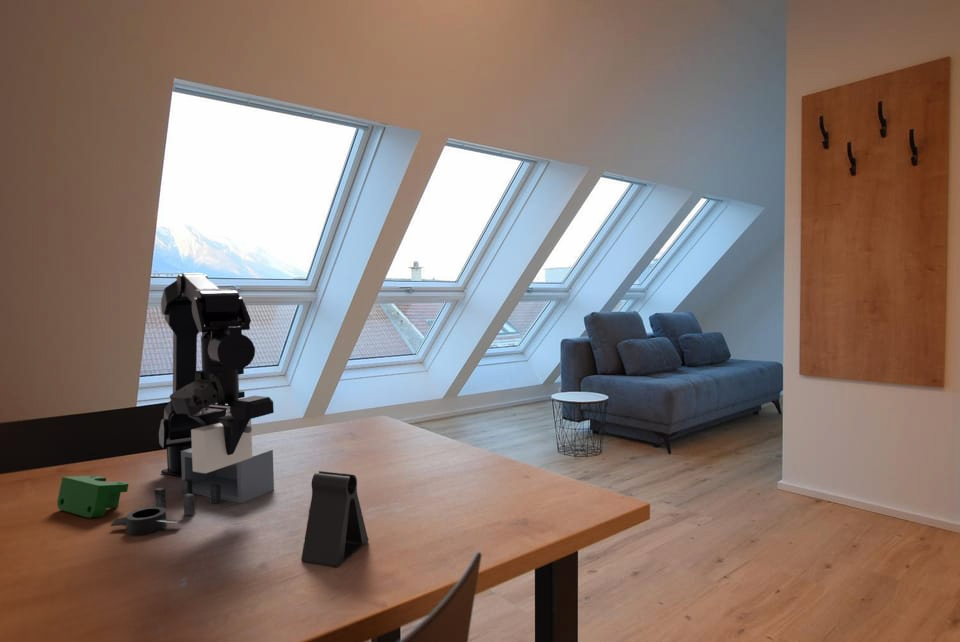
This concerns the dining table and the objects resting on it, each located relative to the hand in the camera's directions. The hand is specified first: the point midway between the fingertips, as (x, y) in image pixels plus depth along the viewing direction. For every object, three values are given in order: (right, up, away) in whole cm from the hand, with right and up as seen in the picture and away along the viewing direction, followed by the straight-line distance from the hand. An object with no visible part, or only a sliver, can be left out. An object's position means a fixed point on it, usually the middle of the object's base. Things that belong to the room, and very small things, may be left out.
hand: (223, 453), depth 103 cm
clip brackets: (-9, -11, +6) cm, 15 cm away
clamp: (-26, -12, +5) cm, 28 cm away
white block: (0, -2, 0) cm, 2 cm away
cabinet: (-5, -11, +14) cm, 18 cm away
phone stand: (+23, -12, -13) cm, 29 cm away
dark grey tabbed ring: (-11, -12, -4) cm, 17 cm away
